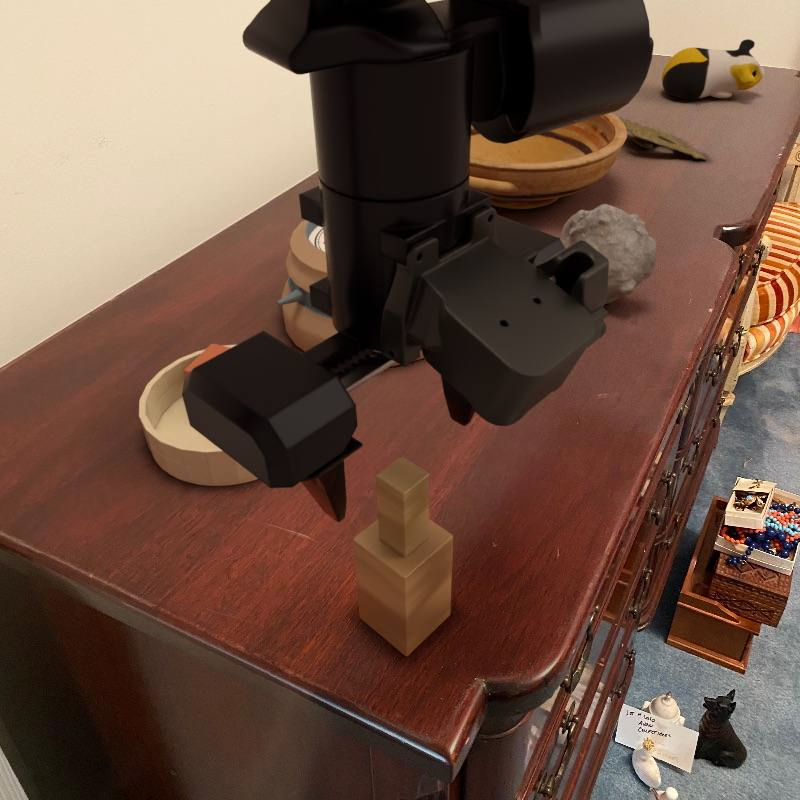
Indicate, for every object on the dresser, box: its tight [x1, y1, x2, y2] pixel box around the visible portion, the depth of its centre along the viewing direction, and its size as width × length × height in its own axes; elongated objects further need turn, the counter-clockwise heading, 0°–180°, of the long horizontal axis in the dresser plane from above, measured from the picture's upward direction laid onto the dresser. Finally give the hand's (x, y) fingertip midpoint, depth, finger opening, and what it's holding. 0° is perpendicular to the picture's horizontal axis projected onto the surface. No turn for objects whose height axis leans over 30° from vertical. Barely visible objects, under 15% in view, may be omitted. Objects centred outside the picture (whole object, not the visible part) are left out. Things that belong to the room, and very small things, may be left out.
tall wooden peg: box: [375, 456, 430, 557], centre depth 40 cm, size 2×2×5 cm
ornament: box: [617, 116, 708, 161], centre depth 103 cm, size 10×2×15 cm
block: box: [184, 342, 230, 376], centre depth 62 cm, size 4×4×4 cm
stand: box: [352, 518, 454, 657], centre depth 44 cm, size 4×4×8 cm
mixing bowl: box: [138, 343, 259, 487], centre depth 60 cm, size 13×13×4 cm
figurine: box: [661, 38, 766, 100], centre depth 116 cm, size 8×15×8 cm, turn 83°
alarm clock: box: [276, 219, 425, 367], centre depth 72 cm, size 17×9×23 cm
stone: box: [559, 203, 657, 305], centre depth 71 cm, size 9×7×10 cm
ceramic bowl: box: [469, 112, 628, 210], centre depth 91 cm, size 30×24×8 cm
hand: (401, 465), depth 39 cm, fingers open, 9 cm apart
